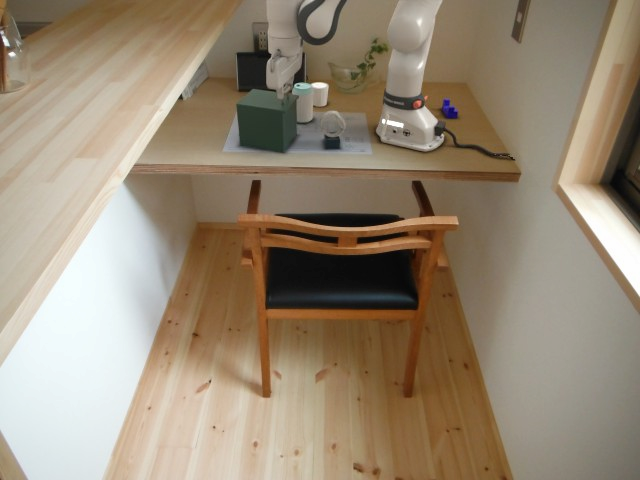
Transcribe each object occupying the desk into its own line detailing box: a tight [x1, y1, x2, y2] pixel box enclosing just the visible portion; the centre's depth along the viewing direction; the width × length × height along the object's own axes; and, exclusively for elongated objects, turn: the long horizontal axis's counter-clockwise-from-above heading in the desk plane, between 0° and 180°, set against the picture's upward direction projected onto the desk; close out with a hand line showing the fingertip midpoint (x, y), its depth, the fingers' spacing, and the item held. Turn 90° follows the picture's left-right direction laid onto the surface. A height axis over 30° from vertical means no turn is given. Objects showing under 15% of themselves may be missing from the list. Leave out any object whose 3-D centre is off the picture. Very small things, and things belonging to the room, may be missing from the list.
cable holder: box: [441, 98, 459, 119], centre depth 166 cm, size 8×4×4 cm, turn 2°
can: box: [291, 82, 314, 124], centre depth 157 cm, size 7×7×12 cm
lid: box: [235, 85, 299, 113], centre depth 138 cm, size 15×13×5 cm
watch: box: [319, 110, 347, 150], centre depth 143 cm, size 6×8×11 cm
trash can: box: [235, 100, 298, 153], centre depth 144 cm, size 15×13×13 cm
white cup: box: [309, 81, 330, 108], centre depth 170 cm, size 7×7×7 cm
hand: (285, 93), depth 137 cm, fingers closed on lid, 5 cm apart
